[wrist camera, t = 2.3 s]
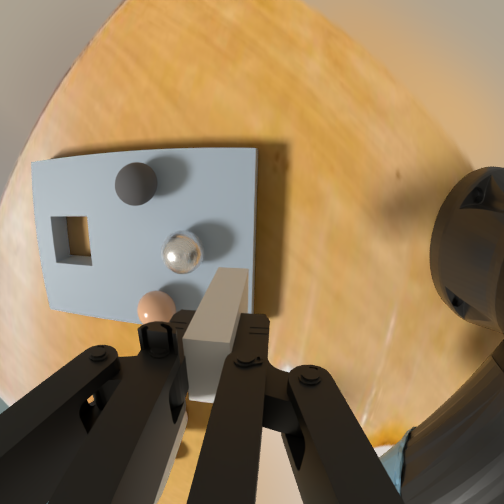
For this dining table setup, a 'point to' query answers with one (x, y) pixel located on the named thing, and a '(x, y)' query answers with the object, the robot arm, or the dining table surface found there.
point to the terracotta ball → (156, 307)
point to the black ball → (136, 184)
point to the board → (143, 227)
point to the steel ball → (182, 252)
